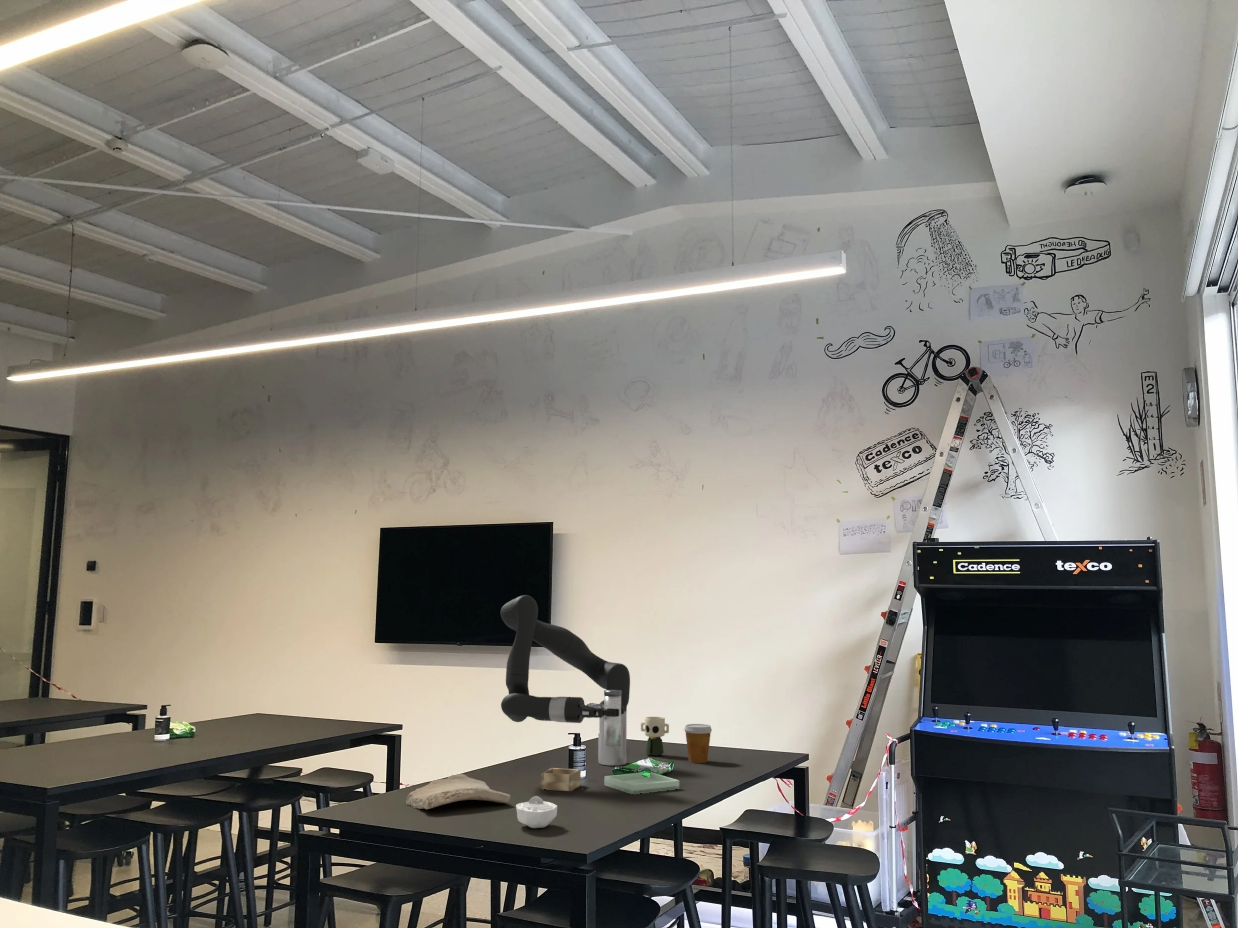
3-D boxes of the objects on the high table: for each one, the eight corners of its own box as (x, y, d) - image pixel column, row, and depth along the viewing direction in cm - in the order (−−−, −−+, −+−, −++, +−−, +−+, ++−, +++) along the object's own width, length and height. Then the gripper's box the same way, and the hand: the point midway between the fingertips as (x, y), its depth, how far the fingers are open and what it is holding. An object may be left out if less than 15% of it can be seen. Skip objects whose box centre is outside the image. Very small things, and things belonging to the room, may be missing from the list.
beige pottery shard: (400, 805, 263) (427, 812, 246) (401, 776, 264) (428, 781, 248) (483, 800, 275) (514, 806, 258) (484, 772, 277) (514, 777, 260)
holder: (540, 789, 281) (541, 773, 282) (550, 783, 290) (551, 767, 291) (571, 790, 279) (571, 774, 280) (580, 785, 288) (580, 769, 289)
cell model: (513, 832, 229) (514, 803, 230) (516, 821, 241) (517, 793, 242) (556, 832, 230) (557, 802, 231) (557, 821, 242) (557, 792, 243)
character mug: (636, 755, 343) (636, 717, 345) (644, 752, 349) (645, 715, 351) (664, 757, 338) (664, 719, 340) (672, 755, 344) (672, 717, 346)
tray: (604, 784, 289) (604, 776, 289) (649, 780, 297) (649, 771, 297) (632, 794, 275) (632, 785, 275) (679, 789, 283) (679, 780, 283)
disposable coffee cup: (712, 759, 336) (711, 723, 337) (712, 764, 326) (711, 727, 328) (684, 758, 337) (684, 723, 338) (683, 763, 327) (683, 726, 329)
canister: (600, 745, 288) (600, 690, 290) (615, 743, 291) (615, 689, 293) (609, 747, 284) (609, 691, 286) (624, 746, 286) (624, 690, 288)
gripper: (559, 699, 286) (615, 701, 281) (574, 694, 300) (627, 696, 295) (559, 725, 285) (615, 727, 280) (573, 719, 299) (627, 721, 294)
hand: (621, 711), depth 288 cm, fingers closed on canister, 5 cm apart
